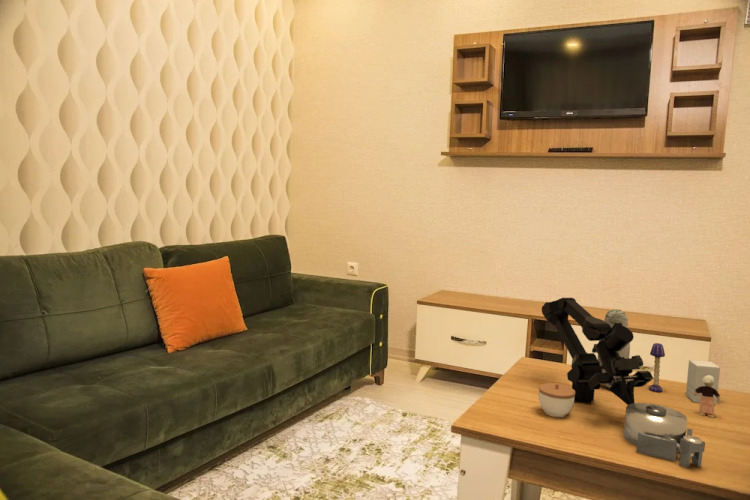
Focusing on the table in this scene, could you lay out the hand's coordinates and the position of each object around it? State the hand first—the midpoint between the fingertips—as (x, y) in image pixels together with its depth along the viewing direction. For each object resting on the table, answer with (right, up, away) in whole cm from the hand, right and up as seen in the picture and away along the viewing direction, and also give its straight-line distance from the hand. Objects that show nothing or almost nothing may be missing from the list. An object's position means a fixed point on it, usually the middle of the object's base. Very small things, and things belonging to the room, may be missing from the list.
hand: (632, 407), depth 159 cm
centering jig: (+4, -9, -17) cm, 19 cm away
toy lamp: (+24, -4, +36) cm, 43 cm away
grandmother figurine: (+29, -7, +14) cm, 33 cm away
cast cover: (+3, -7, -7) cm, 10 cm away
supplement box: (+36, -6, +28) cm, 46 cm away
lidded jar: (-19, -5, +11) cm, 22 cm away
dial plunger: (+4, -7, -18) cm, 19 cm away
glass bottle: (+10, -4, +37) cm, 39 cm away
